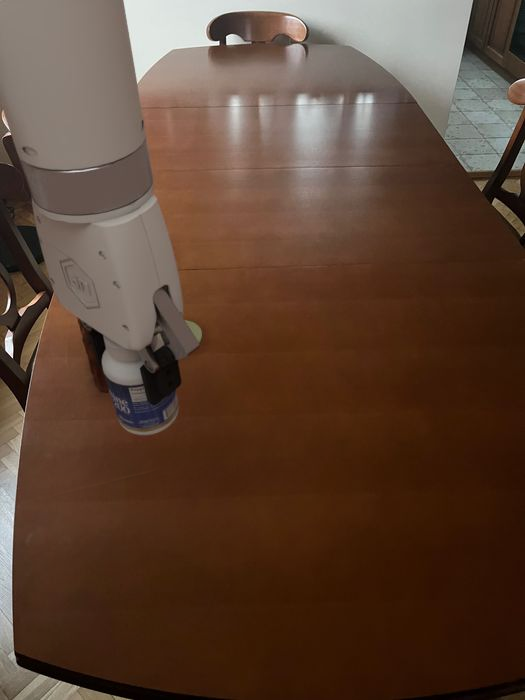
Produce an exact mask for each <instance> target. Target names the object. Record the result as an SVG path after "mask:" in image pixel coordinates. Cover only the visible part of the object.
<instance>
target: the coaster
mask: <svg viewBox="0 0 525 700" xmlns="http://www.w3.org/2000/svg"><path fill="white" fill-rule="evenodd" d="M184 320H185V322H186V323H187V325H188V326H189V328H190V329H191V331H192V332H193V334H194V335H195V337H196V339H197V340H198V342H199V344H200V343H201V341H202V339H203V331H202V329H201V327H200V326H199V325H198V324H197V323H196V322H193V321H190V320H186V319H184ZM157 336H158V338H160V339H161V340H162V338H161V335H160V333H159V334H157ZM162 341H163V340H162Z"/></svg>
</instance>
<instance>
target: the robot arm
mask: <svg viewBox="0 0 525 700" xmlns="http://www.w3.org/2000/svg"><path fill="white" fill-rule="evenodd" d="M124 1H125V0H0V104H1V108H2V111H3V115H4V116H5V120H6V123H7V127H8V129H9V132H10V136H11V139H12V142H13V145H14V147H15V150H16V153H17V156H18V160H19V164H20V166H21V168H22V172H23V175H24V178H25V181H26V184H27V188H28V190H29V193H30V196H31V205H32V212H33V218H34V223H35V228H36V233H37V237H38V240H39V241H38V242H39V245H40V248H41V253H42V256H43V260H44V263H45V267H46V270H47V274H48V278H49V282H50V285H51V287H52V290H53V293H54V296H55V299H56V300H57V302H58V303H59V304H60V305H61V306H62V307H63V308H64V309H65V310H66V311H68V312H69V313H71V314H72V315H73V316H74V317H76V318H77V317H78V318H79V319H81V322H82V324H83V325H84V327H85V328H86V329H87V330H91V329H92V331H91V332H89V333H88V335H89V338H90V342H91V345H92V348H93V351H94V355H95V358H96V361H97V364H98V366H99V367H100V368H101V369H103V367H102V356H103V353H104V351H105V349H106V347H105V342H104V337H103V335H104V336H106V337H107V338H109V339H111V340H112V341H114V342H115V343H117V344H118V345H120V346H122V347H124V348H126V349H129V350H133V351H138V352H139V354H140V357H141V359H142V361H143V363H144V365H142V366H141V368H140V372H141V376H142V381H143V385H144V389H145V393H146V397H147V401H148V402H149V403H150V404H152V405H156V404H157V403H159V402H160V401H161V400H162V399H164V398H165V397H166V396H168V395H170V394H171V393H173V392H174V391H175V390H176V391H177V389H178V388H179V387H180V386H181V385H182V376H181V371H180V365H179V360H182V359H185V358H187V357H189V356H190V355H192V354H193V353H194V352H196V351H197V350H198V349H199V348H200V346H201V345H200V343H199V342H198V340H197V339H196V337H195V335H194V334H193V332H192V331H191V329H190V328H189V326H188V325H187V323H186V322H185V320H186V319H185V318H184V298H183V292H182V291H183V290H182V285H181V279H180V275H179V269H178V266H177V265H178V264H177V261H176V257H175V252H174V249H173V245H172V240H171V237H170V233H169V230H168V227H167V223H166V220H165V217H164V214H163V212H162V209H161V206H160V203H159V200H158V197H157V196H156V195H155V194H154V191H155V182H154V177H153V176H154V174H153V169H152V164H151V157H150V152H149V145H148V139H147V135H146V129H145V122H144V121H145V120H144V115H143V111H142V110H143V109H142V104H141V99H140V94H139V93H140V92H139V85H138V80H137V73H136V68H135V62H134V56H133V51H132V49H133V48H132V44H131V36H130V32H129V31H130V30H129V25H128V20H127V13H126V8H125V2H124ZM159 333H160V335H161V338H162V340H163V342H164V345H163V346H162V347H160V348H159V349H157V350H156V351H155V352H153V350H152V347H151V345H150V343H151V341H152V338H153V337H154V336H156V335H157V334H159Z"/></svg>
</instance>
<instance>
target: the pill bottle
mask: <svg viewBox="0 0 525 700" xmlns="http://www.w3.org/2000/svg"><path fill="white" fill-rule="evenodd" d="M103 337H104V342H105V347H106V349H105V351H104V353H103V356H102V367H103V372H104V375H105V378H106V381H107V385H108V388H109V391H108V393H109V394H110V398H111V401H112V404H113V407H114V411H115V414H116V417H117V419H118V422H119V425H120V426H121V427H122V428H123V429H124V430H125V431H126V432H128V433H131V434H134V435H138V436H151V435H155V434H158V433H160V432H163V431H164V430H166V429H167V428H169V427H170V426H171V425H172V424H173V423H174V422H175V421H176V418H177V416H178V414H179V409H180V407H179V399H178V394H177V389H176V390H175V391H174V392H173V393H171V394H170V395H168V396H166V397H165V398H164V399H162V400H161V401H160V402H159V403H157V404H156V405H152V404H150V403H149V402H148V401H147V397H146V393H145V389H144V385H143V381H142V376H141V372H140V368H141V366H142V365H144V363H143V361H142V359H141V357H140V354H139V352H138V351H133V350H129V349H126V348H124V347H122V346H120V345H118V344H117V343H115V342H114V341H112V340H111V339H109V338H107V337H106V336H104V335H103ZM150 345H151V347H152V350H153V352H155V351H156V350H157V349H159V348H160V347H162V346H163V345H164V342H163V341H162V340H161V339H160V338H158V336H157V335H156V336H154V337H153V338H152V341H151V343H150Z"/></svg>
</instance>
